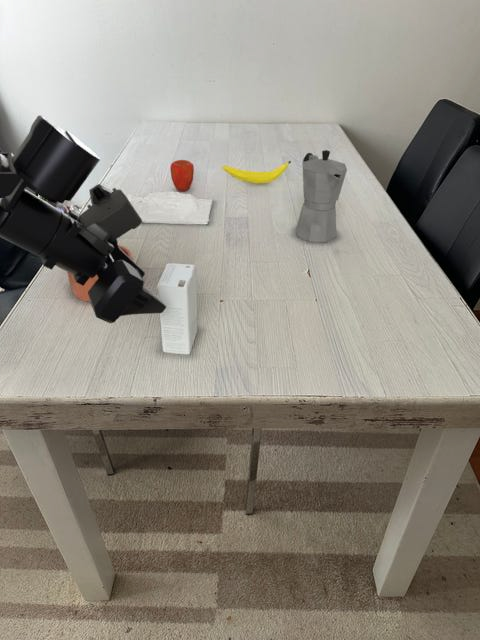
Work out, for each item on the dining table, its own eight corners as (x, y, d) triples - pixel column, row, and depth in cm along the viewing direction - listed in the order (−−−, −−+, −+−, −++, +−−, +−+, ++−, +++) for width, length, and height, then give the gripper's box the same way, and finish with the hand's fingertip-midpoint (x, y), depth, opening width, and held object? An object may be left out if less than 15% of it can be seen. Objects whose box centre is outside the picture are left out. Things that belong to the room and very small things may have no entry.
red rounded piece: (198, 191, 118) (197, 163, 114) (176, 195, 116) (174, 166, 111) (189, 184, 123) (188, 156, 118) (168, 187, 120) (166, 159, 116)
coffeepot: (349, 244, 94) (364, 158, 84) (309, 250, 92) (319, 162, 81) (317, 216, 106) (326, 137, 95) (280, 220, 104) (286, 140, 93)
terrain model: (122, 203, 113) (119, 184, 110) (212, 198, 115) (210, 178, 112) (113, 230, 100) (108, 209, 97) (214, 224, 101) (213, 203, 98)
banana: (221, 181, 124) (221, 158, 121) (288, 182, 125) (290, 159, 121) (221, 185, 122) (221, 162, 118) (289, 185, 123) (291, 162, 119)
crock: (76, 308, 74) (68, 280, 71) (68, 276, 82) (61, 249, 79) (142, 294, 78) (138, 267, 74) (128, 264, 86) (124, 239, 83)
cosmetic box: (171, 328, 70) (165, 261, 63) (199, 331, 69) (196, 263, 62) (161, 354, 65) (153, 284, 58) (191, 356, 64) (187, 286, 57)
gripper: (109, 204, 41) (218, 278, 52) (73, 151, 55) (166, 219, 65) (41, 294, 43) (161, 348, 54) (23, 222, 56) (121, 277, 67)
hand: (152, 291), depth 60 cm, fingers open, 9 cm apart
